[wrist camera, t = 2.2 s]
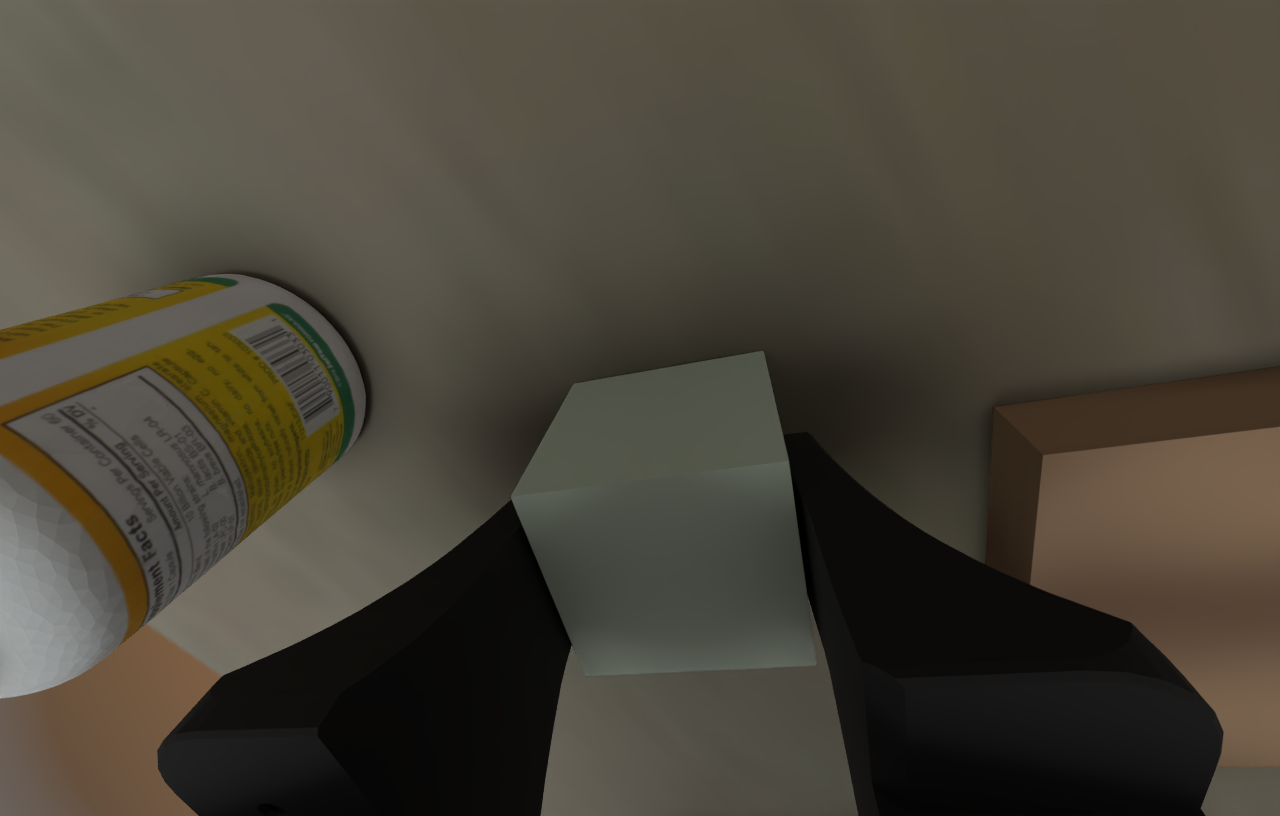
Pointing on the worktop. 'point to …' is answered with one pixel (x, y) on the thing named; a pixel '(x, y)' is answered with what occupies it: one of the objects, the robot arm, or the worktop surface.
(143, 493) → the supplement bottle
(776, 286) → the worktop surface
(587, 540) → the sage block
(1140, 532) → the brown square pad
